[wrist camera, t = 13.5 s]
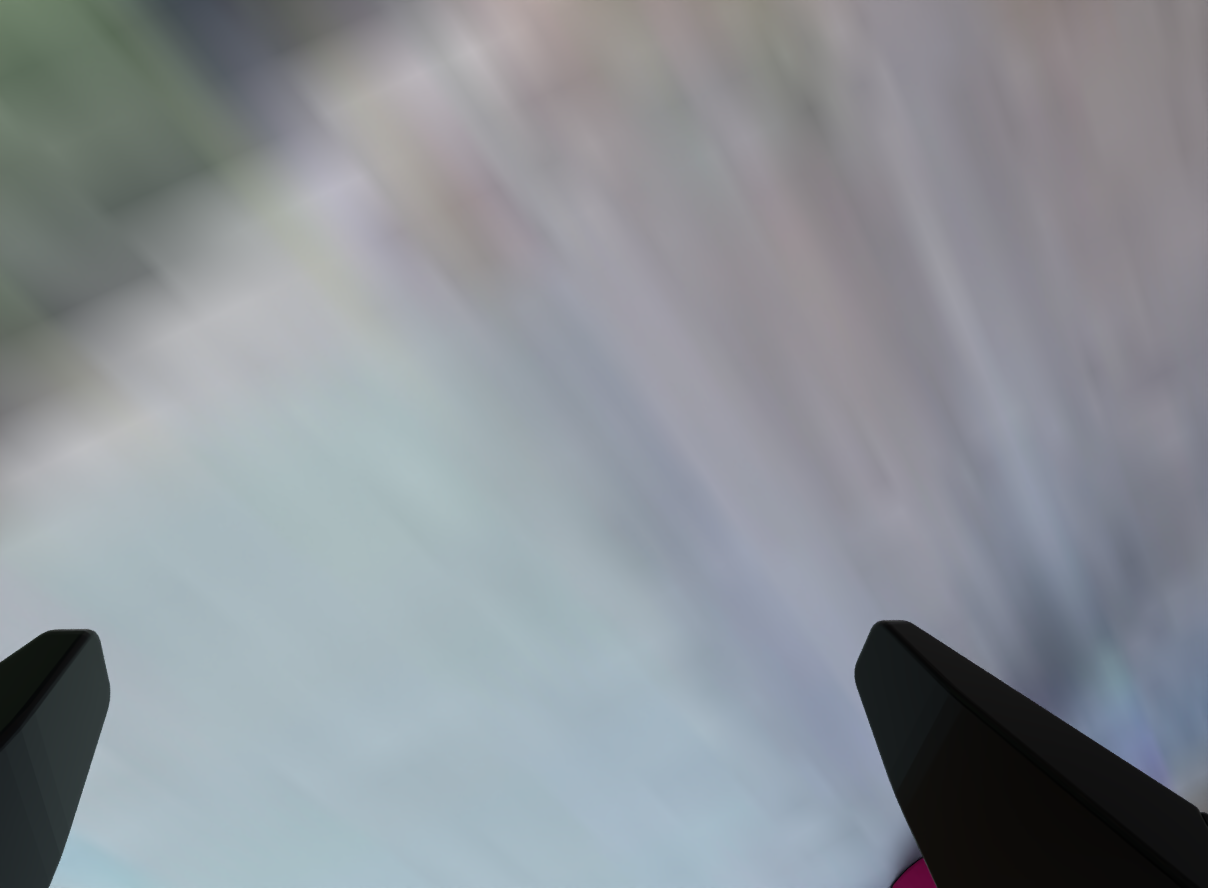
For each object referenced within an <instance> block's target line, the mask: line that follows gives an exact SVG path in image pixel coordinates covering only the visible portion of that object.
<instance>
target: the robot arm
mask: <svg viewBox="0 0 1208 888" xmlns="http://www.w3.org/2000/svg"><path fill="white" fill-rule="evenodd" d="M855 683H856V686H857V689H858V692H859V695H860V698H861V701H862V704H863V707H864V709H865V712H866V715H867V718H868V721H869V724H870V727H871V729H872V732H873V735H874V738H875V741H876V744H877V747H878V750H879V752H880V755H881V758H882V761H883V764H884V767H885V770H886V772H887V775H888V778H889V781H890V783H891V786H892V789H893V791H894V794H895V796H896V799H897V801H898V803H899V806H900V808H901V810H902V813H903V815H904V817H905V819H906V821H907V824H908V826H909V828H910V830H911V832H912V834H913V837H914V839H915V841H916V843H917V845H918V848H919V850H920V852H921V854H922V856H923V858H924V861H925V863H926V865H927V867H928V869H929V872H930V874H931V876H932V878H933V880H934V882H935V885H936V887H937V888H1208V814H1207V813H1205V812H1200V811H1199V809H1198V808H1197V807H1196V806H1194V805H1193V804H1191V803H1190V802H1188V801H1187V800H1185V799H1184V798H1182V797H1180V796H1179V795H1177V794H1176V793H1174V792H1173V791H1171V790H1170V789H1168V788H1166V787H1165V786H1163V785H1162V784H1160V783H1159V782H1157V781H1156V780H1154V779H1153V778H1151V777H1149V776H1148V775H1146V774H1145V773H1143V772H1142V771H1140V770H1139V769H1137V768H1135V767H1134V766H1132V765H1131V764H1129V763H1128V762H1126V761H1125V760H1123V759H1122V758H1120V757H1118V756H1117V755H1115V754H1114V753H1112V752H1111V751H1109V750H1108V749H1106V748H1104V747H1103V746H1101V745H1100V744H1098V743H1097V742H1095V741H1094V740H1092V739H1091V738H1089V737H1087V736H1086V735H1084V734H1083V733H1081V732H1080V731H1078V730H1077V729H1075V728H1073V727H1072V726H1070V725H1069V724H1067V723H1066V722H1064V721H1063V720H1061V719H1060V718H1058V717H1056V716H1055V715H1053V714H1052V713H1050V712H1049V711H1047V710H1046V709H1044V708H1042V707H1041V706H1039V705H1038V704H1036V703H1035V702H1033V701H1032V700H1030V699H1029V698H1027V697H1025V696H1024V695H1022V694H1021V693H1019V692H1018V691H1016V690H1015V689H1013V688H1012V687H1010V686H1008V685H1007V684H1005V683H1004V682H1002V681H1001V680H999V679H998V678H996V677H994V676H993V675H991V674H990V673H988V672H987V671H985V670H984V669H982V668H981V667H979V666H977V665H976V664H974V663H973V662H971V661H970V660H968V659H967V658H965V657H964V656H962V655H960V654H959V653H957V652H956V651H954V650H953V649H951V648H950V647H948V646H946V645H945V644H943V643H942V642H940V641H939V640H937V639H936V638H934V637H933V636H931V635H929V634H928V633H926V632H925V631H923V630H922V629H920V628H919V627H917V626H916V625H914V624H912V623H911V622H908V621H904V620H883V621H879V622H877V623H876V624H875V625H873V627H872V628H871V630H870V633H869V635H868V637H867V640H866V642H865V644H864V646H863V649H862V651H861V653H860V656H859V658H858V660H857V662H856V665H855ZM109 702H110V683H109V679H108V674H107V669H106V665H105V660H104V656H103V651H102V646H101V642H100V639H99V636H98V635H97V633H96V632H94V631H92V630H89V629H58V630H50V631H47V632H45V633H43V634H41V635H39V636H38V637H36V638H35V639H33V640H32V641H31V642H29V643H28V644H26V645H25V646H23V647H22V648H20V649H19V650H17V651H16V652H15V653H13V654H12V655H10V656H9V657H7V658H6V659H4V660H3V661H2V662H0V888H49V886H50V884H51V881H52V879H53V876H54V874H55V871H56V869H57V866H58V864H59V861H60V859H61V856H62V853H63V850H64V847H65V844H66V842H67V839H68V836H69V833H70V829H71V826H72V823H73V820H74V817H75V813H76V810H77V807H78V804H79V801H80V797H81V794H82V791H83V788H84V785H85V781H86V778H87V775H88V772H89V769H90V765H91V762H92V759H93V756H94V753H95V749H96V746H97V743H98V740H99V737H100V733H101V730H102V727H103V724H104V721H105V717H106V714H107V711H108V707H109Z"/></svg>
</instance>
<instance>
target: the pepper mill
mask: <svg viewBox="0 0 1208 888" xmlns="http://www.w3.org/2000/svg"><path fill="white" fill-rule="evenodd" d="M892 888H937V887H936V885H935V882H934V880H933V878H932V876H931V874H930V872H929V869H928V867H927V865H926V863H925V861H924V858H922V859H920V860H918V861H917V862H916V863H915V864H913V865H912V866H911V867H910V868H908V869H907V870H906V871H905V872H904V873H903V874H902V876H901V877H900V878H899V879H898V880H897V881H896V882H895V884H894V885H893V887H892Z"/></svg>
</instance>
